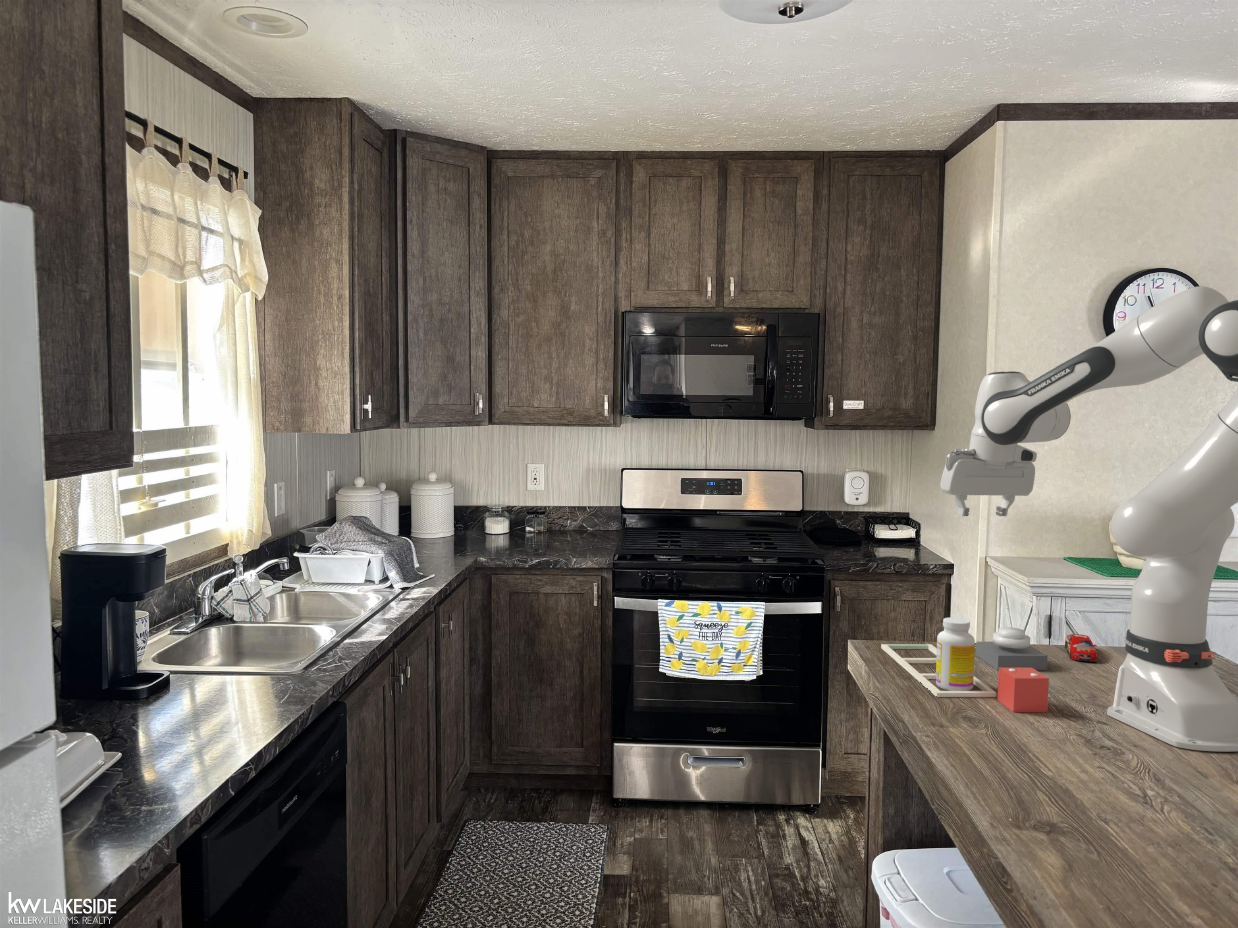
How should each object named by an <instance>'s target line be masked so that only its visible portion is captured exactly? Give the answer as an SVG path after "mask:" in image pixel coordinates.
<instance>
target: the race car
mask: <svg viewBox="0 0 1238 928" xmlns="http://www.w3.org/2000/svg"><path fill="white" fill-rule="evenodd" d="M1097 646H1098V645H1097V644H1094V643H1093V641H1092V640H1091V637H1089V635H1086V634H1077V633H1070V634H1067V635H1066V638H1065V642H1064V648H1065V650H1066V652H1067V654H1068V657H1069V658H1070V660H1073V661H1081V662H1094V663H1098V657H1099V654H1098V651H1097V649H1096V647H1097Z"/></svg>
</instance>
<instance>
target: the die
mask: <svg viewBox="0 0 1238 928" xmlns="http://www.w3.org/2000/svg"><path fill="white" fill-rule="evenodd" d="M997 676H998V677H997V678H998V681H997V701H998V702H999V703H1001V704H1002V705H1004V706H1005V707H1006V708H1007V709H1008V710H1010V711H1011V712H1013V713H1048V707H1049V706H1048V705H1049V703H1048V702H1049V686H1050V685H1049V684H1050V682H1049V681H1050V678H1049V677H1047V676H1046V675H1044V674H1042V673H1041V672H1040V671H1039V670H1035V669H1033V668H999V670H998V675H997Z"/></svg>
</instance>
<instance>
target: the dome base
mask: <svg viewBox="0 0 1238 928" xmlns="http://www.w3.org/2000/svg"><path fill="white" fill-rule="evenodd" d="M975 645H976V646H975V656H976V657H978V658H979V659H981V660H982V661H983V662H984V663H986V664H988V665H990V666H991V667H992V668H994V669H995V670H997V671H999V668H1033V669H1035V670H1036V671H1047V670H1048V655H1047V654H1045V653H1043V651H1040V650H1039V649H1037V648H1035V647H1034V646H1031V645H1030V647H1028V648H1023V649H1016V648H1007V647H1002V646H999V645H996V644H994V643H993V641H975Z"/></svg>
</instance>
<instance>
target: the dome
mask: <svg viewBox="0 0 1238 928" xmlns="http://www.w3.org/2000/svg"><path fill="white" fill-rule="evenodd" d="M992 642H993V643H994V644H996V645H999V646H1002V647H1007V648H1016V649H1023V648H1028V647H1030V646H1031V637H1030V636H1029V635H1026V630H1024V629H1021V628H1017V627H1011V626H1002V627H999V628H998V631H995V632H993V633H992Z"/></svg>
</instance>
